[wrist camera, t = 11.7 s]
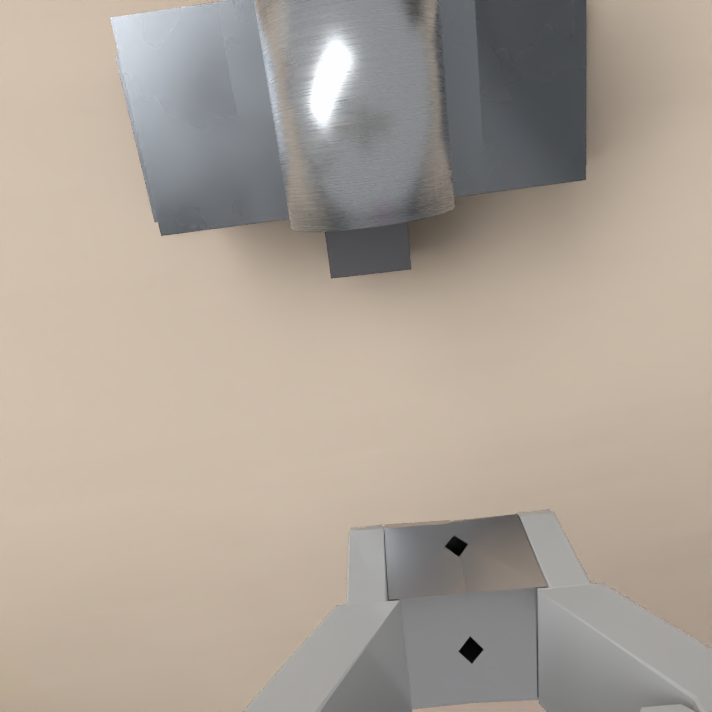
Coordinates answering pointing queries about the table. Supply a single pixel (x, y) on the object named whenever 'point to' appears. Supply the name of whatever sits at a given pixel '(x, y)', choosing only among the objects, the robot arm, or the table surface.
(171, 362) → the table surface
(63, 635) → the table surface
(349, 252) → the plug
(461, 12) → the housing
